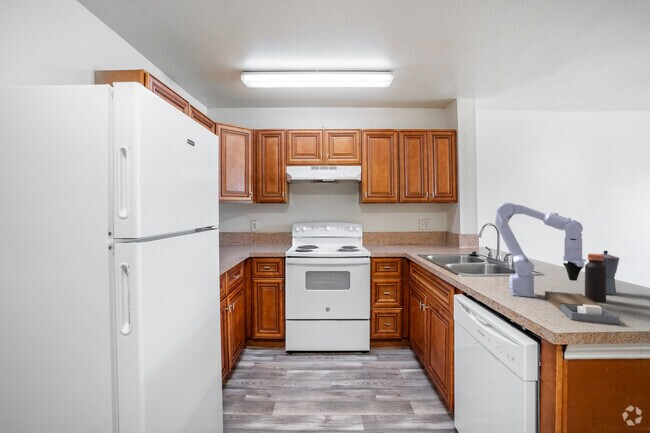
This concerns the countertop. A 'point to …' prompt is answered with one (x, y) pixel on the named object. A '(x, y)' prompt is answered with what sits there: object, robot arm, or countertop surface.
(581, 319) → the box
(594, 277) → the bottle
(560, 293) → the walnut board
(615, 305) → the countertop surface
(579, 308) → the tile back
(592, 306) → the tile front
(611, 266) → the moka pot
